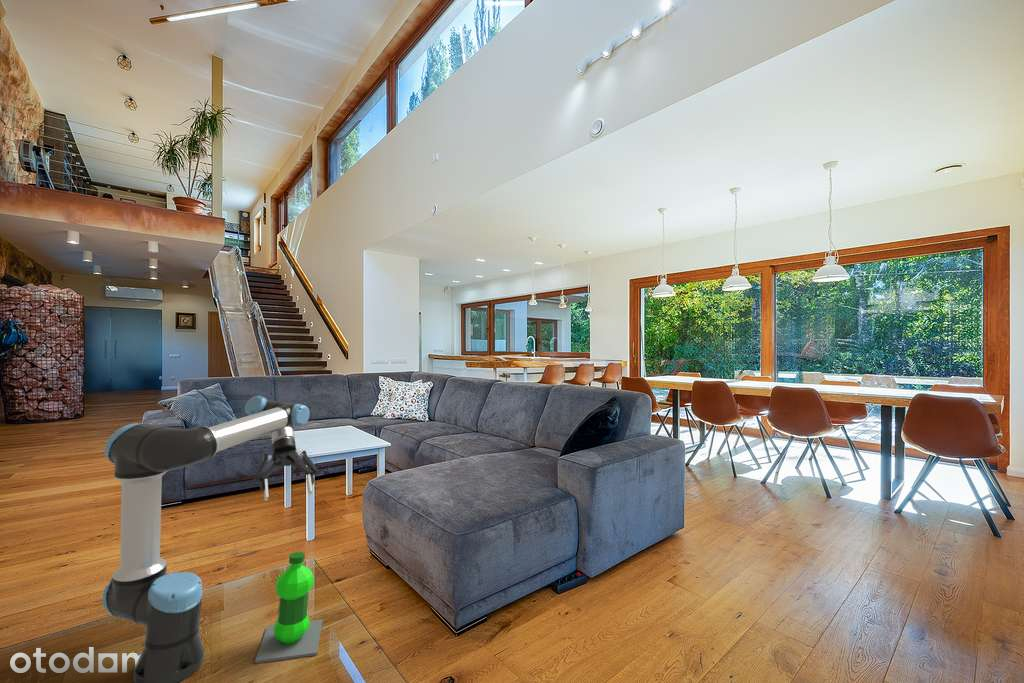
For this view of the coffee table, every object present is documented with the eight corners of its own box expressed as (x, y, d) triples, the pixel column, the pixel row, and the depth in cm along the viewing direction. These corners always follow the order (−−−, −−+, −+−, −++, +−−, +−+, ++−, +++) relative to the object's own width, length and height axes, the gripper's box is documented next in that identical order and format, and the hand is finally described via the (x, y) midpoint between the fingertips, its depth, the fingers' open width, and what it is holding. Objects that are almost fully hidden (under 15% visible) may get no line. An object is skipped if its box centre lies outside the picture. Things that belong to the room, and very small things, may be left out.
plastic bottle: (306, 624, 139) (312, 544, 140) (311, 643, 130) (317, 559, 131) (270, 633, 134) (277, 550, 135) (273, 654, 125) (280, 566, 126)
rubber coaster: (254, 663, 122) (254, 660, 122) (267, 628, 137) (267, 625, 137) (316, 655, 127) (317, 652, 127) (322, 621, 142) (322, 619, 142)
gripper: (317, 445, 171) (324, 495, 159) (242, 451, 156) (245, 507, 144) (321, 434, 167) (330, 485, 155) (246, 439, 152) (248, 495, 140)
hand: (289, 495), depth 149 cm, fingers open, 13 cm apart
